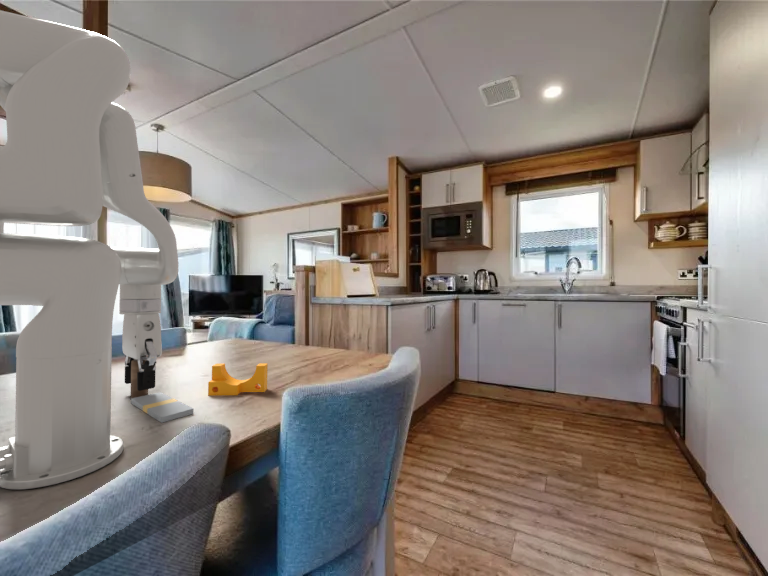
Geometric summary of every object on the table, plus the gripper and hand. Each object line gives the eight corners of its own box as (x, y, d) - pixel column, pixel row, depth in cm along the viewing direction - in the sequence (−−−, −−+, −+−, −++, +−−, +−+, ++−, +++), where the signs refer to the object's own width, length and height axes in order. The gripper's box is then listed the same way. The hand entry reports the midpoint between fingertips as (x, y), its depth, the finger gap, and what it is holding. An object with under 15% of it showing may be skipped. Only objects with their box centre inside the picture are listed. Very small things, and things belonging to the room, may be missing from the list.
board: (161, 422, 59) (161, 417, 59) (130, 403, 69) (130, 398, 69) (193, 413, 64) (193, 408, 64) (160, 396, 73) (160, 392, 73)
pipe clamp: (208, 396, 74) (208, 367, 74) (216, 390, 79) (216, 363, 79) (262, 395, 75) (262, 367, 75) (267, 389, 80) (267, 363, 80)
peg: (133, 399, 71) (134, 358, 71) (128, 396, 73) (128, 356, 73) (150, 395, 74) (151, 355, 74) (144, 392, 76) (145, 354, 76)
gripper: (175, 308, 71) (174, 389, 71) (145, 304, 81) (144, 375, 81) (134, 309, 65) (133, 398, 65) (107, 305, 75) (106, 382, 75)
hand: (139, 385), depth 73 cm, fingers open, 7 cm apart
